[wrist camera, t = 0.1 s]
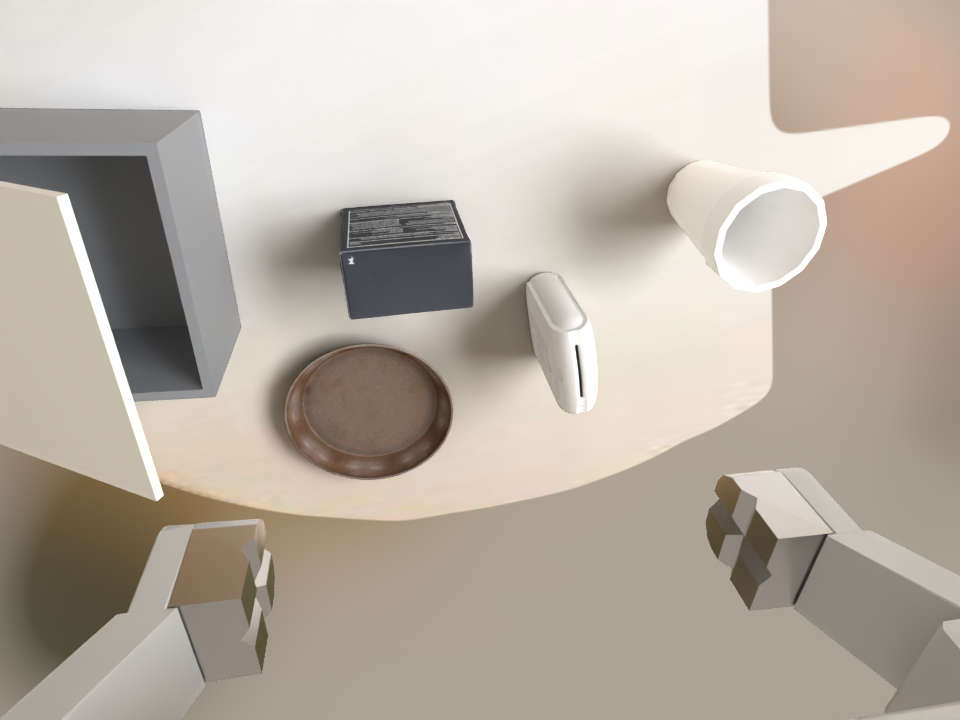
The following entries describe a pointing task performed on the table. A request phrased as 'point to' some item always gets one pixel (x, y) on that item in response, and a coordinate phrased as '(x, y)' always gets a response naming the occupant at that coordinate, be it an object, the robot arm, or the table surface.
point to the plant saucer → (368, 411)
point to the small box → (405, 259)
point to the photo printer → (562, 342)
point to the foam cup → (748, 222)
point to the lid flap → (62, 350)
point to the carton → (140, 234)
